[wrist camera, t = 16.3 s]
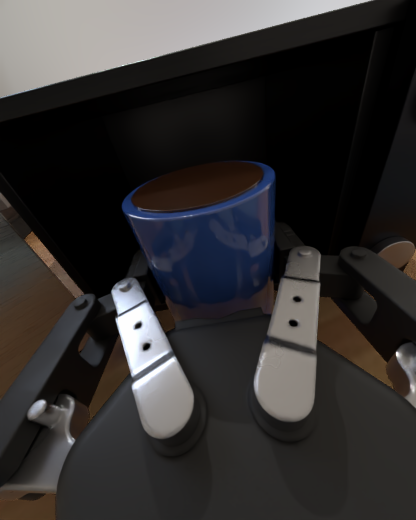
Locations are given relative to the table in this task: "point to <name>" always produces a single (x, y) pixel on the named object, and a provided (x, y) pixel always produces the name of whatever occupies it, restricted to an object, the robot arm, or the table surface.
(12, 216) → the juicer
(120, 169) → the microwave
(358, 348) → the table surface
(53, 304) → the microwave door
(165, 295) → the cup
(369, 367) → the table surface
